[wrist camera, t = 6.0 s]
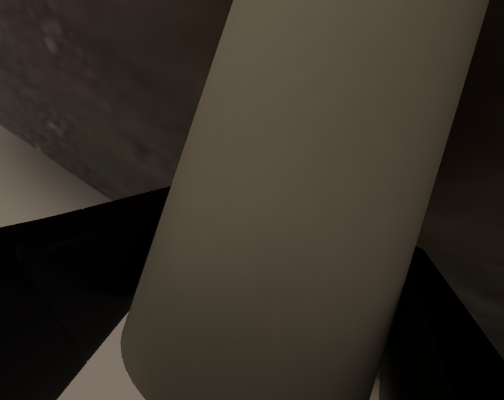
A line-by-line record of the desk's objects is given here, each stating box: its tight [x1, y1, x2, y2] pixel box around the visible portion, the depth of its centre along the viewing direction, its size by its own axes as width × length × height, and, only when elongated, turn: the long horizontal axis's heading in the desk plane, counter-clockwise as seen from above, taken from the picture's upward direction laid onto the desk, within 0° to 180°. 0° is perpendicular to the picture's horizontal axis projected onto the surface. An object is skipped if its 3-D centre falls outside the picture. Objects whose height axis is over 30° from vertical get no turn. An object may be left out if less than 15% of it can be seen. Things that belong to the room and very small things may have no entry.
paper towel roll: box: [121, 0, 489, 400], centre depth 7 cm, size 6×12×6 cm
